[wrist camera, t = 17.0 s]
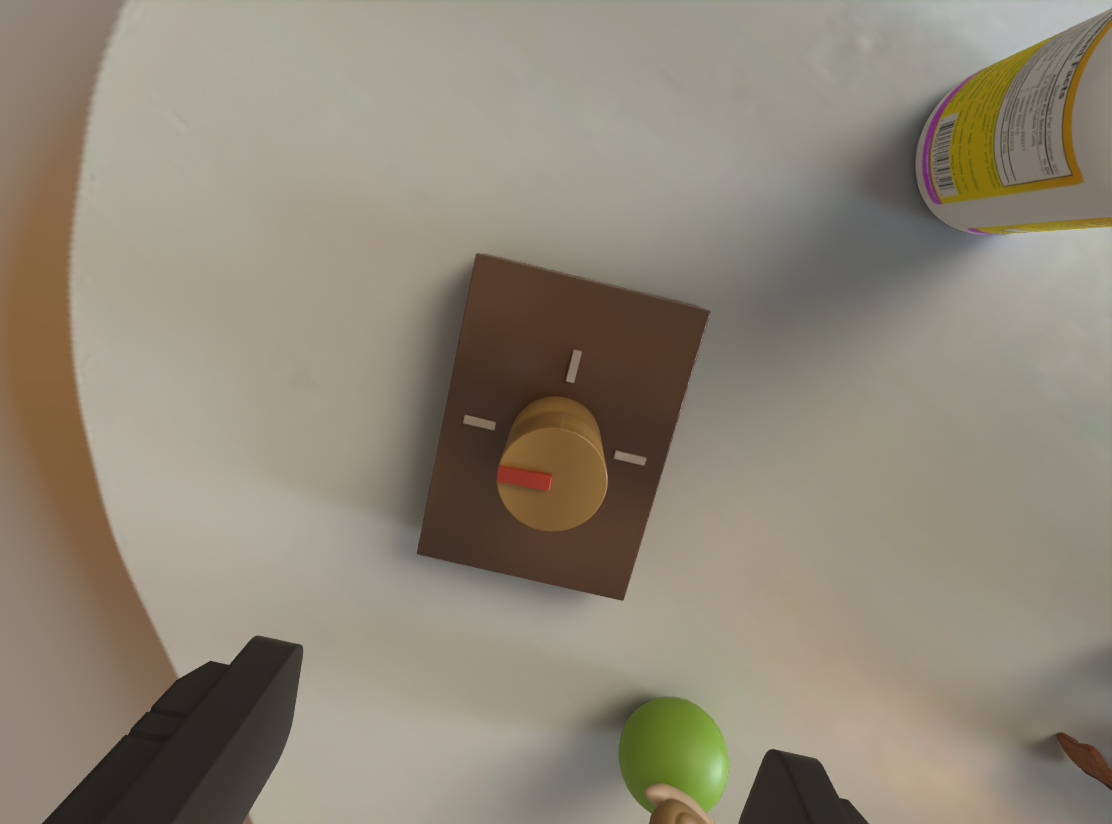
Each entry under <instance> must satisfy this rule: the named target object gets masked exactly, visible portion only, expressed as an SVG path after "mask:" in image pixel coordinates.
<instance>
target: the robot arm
mask: <svg viewBox="0 0 1112 824" xmlns="http://www.w3.org/2000/svg"><path fill="white" fill-rule="evenodd" d="M302 658H303V647H302V645H300V644H295V643H291V642H286V641H281V640H277V639H272V638H268V637H263V636H255V637H253V638H252V639H251V640H250V641H249V642H248V643H247V645H246V646H245V647H244V648H243V649H242V651H241V652H240V653H239V654H238V655H237V657H236V658H235V659H234V660H233V661H232V662H231V664H230V665H227V664H222V663H218V662H213V661H209V662H208V663H206V664H204V665H202V666H201V667H199V668H197V669H195V670H194V671H192V672H190V673H188V674H187V675H185V676H183V677H181V678H180V679H178V680H176V681H175V682H174V683H173V685H172V686H171V687H170V688H169V689H168V690H167V691H166V692H165V693H164V694H163V695H162V696H161V697H160V698H159V700H158V701H157V702H156V703H155V704H154V705H153V706H152V708H151V710H150V712H146V713H145V714H144V716H143V717H142V718H141V719H140V720H139V721H138V722H137V723H136V724H135V725H134V726H133V727H132V728H131V730H130V733H129V734H128V735H125V736H124V737H123V738H122V739H121V740H120V741H119V742H118V743H117V744H116V746H114V747H113V749H112V750H111V751H110V752H109V753H108V754H107V755H106V756H105V757H104V758H103V759H102V760H101V761H100V762H99V764H98V765H97V766H96V767H95V768H94V769H93V770H92V771H91V772H90V773H89V774H88V775H87V776H86V777H85V778H84V779H83V781H82V782H81V783H80V784H79V785H78V786H77V787H76V788H75V789H74V790H73V791H72V792H71V793H70V794H69V795H68V797H67V798H66V799H65V800H64V801H63V802H62V803H61V804H60V805H59V806H58V807H57V808H56V809H55V810H54V812H53V813H52V814H51V815H50V816H49V817H48V818H47V819H46V820H45V821H44V822H43V823H42V824H242V823H243V821H244V819H245V818H246V816H247V814H248V813H249V811H250V809H251V807H252V806H253V804H254V802H255V801H256V799H257V797H258V795H259V794H260V792H261V790H262V789H263V787H264V785H265V783H266V782H267V780H268V778H269V776H270V775H271V773H272V771H273V770H274V768H275V766H276V764H277V763H278V761H279V759H280V757H281V754H282V752H283V750H284V747H285V745H286V742H287V739H288V736H289V733H290V730H291V726H292V722H293V716H294V710H295V703H296V697H297V690H298V684H299V678H300V671H301V665H302ZM739 824H869V823H868V822H867V821H866V820H865V819H864V818H863V816H862V815H861V814H860V813H859V812H858V811H857V810H856V808H855V807H854V806H853V805H852V804H851V803H850V802H849V800H846V799H841V798H839V797H838V795H837V793H836V791H835V789H834V787H833V785H832V783H831V781H830V779H829V777H828V775H827V773H826V771H825V769H824V767H823V766H822V764H821V763H820V762H819V761H818V760H817V759H815V758H812V757H807V756H803V755H798V754H793V753H789V752H784V751H780V750H775V749H771V750H769V751H768V752H767V753H766V754H765V756H764V758H763V760H762V763H761V766H760V768H759V771H758V773H757V776H756V778H755V781H754V783H753V786H752V789H751V791H750V794H749V796H748V799H747V801H746V804H745V806H744V809H743V812H742V814H741V817H740V820H739Z"/></svg>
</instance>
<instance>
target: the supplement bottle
mask: <svg viewBox="0 0 1112 824" xmlns="http://www.w3.org/2000/svg"><path fill="white" fill-rule="evenodd" d="M915 168H916V178H917V183H918V187H919V190H920V193H921V195H922V197H923V199H924V201H925V203H926V204H927V206H928V207H929V209H930V210H931V211H932V212H933V213H934V214H935V216H937V217H938V218H939V219H940V220H941V221H943V222H944V223H946V224H947V225H949V226H951V227H953V228H955V229H958V230H960V231H963V232H967V233H972V234H983V235H987V234H1011V233H1026V232H1039V231H1055V230H1069V229H1085V228H1098V227H1112V9H1110V10H1108V11H1105V12H1103V13H1101V14H1099V15H1097V16H1095V17H1093V18H1090V19H1088V20H1086V21H1084V22H1082V23H1080V24H1078V25H1075V26H1073V27H1071V28H1069V29H1067V30H1065V31H1063V32H1061V33H1059V34H1057V35H1055V36H1053V37H1050V38H1048V39H1046V40H1044V41H1042V42H1040V43H1038V44H1035V45H1033V46H1031V47H1029V48H1027V49H1025V50H1023V51H1020V52H1018V53H1016V54H1014V55H1012V56H1010V57H1008V58H1006V59H1003V60H1001V61H999V62H997V63H995V64H993V65H991V66H989V67H987V68H985V69H983V70H981V71H979V72H977V73H975V74H973V75H971V76H969V77H968V78H966V79H965V80H963V81H962V82H960V83H959V84H958V85H956V86H955V87H954V88H953V89H952V90H950V91H949V92H948V93H947V94H946V95H945V96H944V97H943V99H942V100H941V101H940V102H939V103H938V105H937V106H936V108H935V109H934V110H933V112H932V113H931V115H930V117H929V118H928V120H927V122H926V124H925V126H924V128H923V131H922V133H921V136H920V139H919V143H918V146H917V152H916V162H915Z"/></svg>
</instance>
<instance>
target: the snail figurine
mask: <svg viewBox="0 0 1112 824" xmlns="http://www.w3.org/2000/svg"><path fill="white" fill-rule="evenodd" d="M619 763H620V769H621V773H622V776H623V779H624V781H625V783H626V786H627V788H628V789H629V791H630V793H631V794H632V796H633V797H634V798H635V799H636V801H637V802H638V803H639V804H640V805H641V806H642V807H643V808H645V809H646V810H647V811H649V812H650V813H652V814H651V817H650V822H649V824H715V823H714V822H713V821H712V820H711V818H710V817H709V816H708V815H707V814H706V812H708V811H709V810H710V809H711V808H712V807H713V806H714V805H715V804H716V803H717V801H718V800H719V798H720V797H721V795H722V793H723V791H724V789H725V786H726V782H727V778H728V771H729V759H728V752H727V747H726V744H725V741H724V738H723V736H722V733H721V731H720V730H719V728H718V726H717V725H716V723H715V722H714V721H713V719H712V718H711V717H710V716H709V715H708V714H707V713H706V712H705V711H704V710H703V709H701V708H700V707H699V706H697V705H696V704H694V703H692V702H690V701H687V700H685V699H681V698H677V697H660V698H656V699H653V700H650V701H648V702H646V703H644V704H643V705H641V706H640V707H639V708H638V709H636V710H635V711H634V712H633V714H632V715H631V716H630V718H629V719H628V721H627V722H626V724H625V726H624V729H623V731H622V734H621V738H620V743H619Z"/></svg>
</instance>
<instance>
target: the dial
mask: <svg viewBox="0 0 1112 824" xmlns="http://www.w3.org/2000/svg"><path fill="white" fill-rule="evenodd" d="M496 481H497V487H498V492H499V495H500V498H501V500H502V502H503V504H504V505H505V507H506V508H507V510H508V511H509V512H510V513H511V514H512V515H513V516H514V517H515V518H516V519H517V520H519V521H520V522H522V523H523V524H525V525H527V526H529V527H532V528H534V529H538V530H542V531H563V530H567V529H571V528H574V527H576V526H578V525H580V524H582V523H584V522H585V521H586V520H588V519H589V518H590V517H591V516H592V515H593V514H594V513H595V512H596V511H597V510H598V508H599V507H600V505H601V503H602V501H603V499H604V497H605V494H606V490H607V470H606V464H605V458H604V452H603V447H602V441H601V435H600V430H599V427H598V424H597V422H596V420H595V418H594V417H593V415H592V414H591V413H590V411H589V410H588V409H587V408H586V407H584V406H583V405H582V404H580V403H578V402H577V401H575V400H572V399H569V398H566V397H559V396H550V397H544V398H541V399H538V400H535V401H533V402H532V403H530V404H528V405H527V406H526V407H525V408H523V409H522V410H521V411H520V413H519V414H518V415H517V417H516V419H515V420H514V422H513V425H512V428H511V430H510V433H509V436H508V439H507V442H506V445H505V448H504V451H503V454H502V457H501V460H500V463H499V466H498V471H497V480H496Z"/></svg>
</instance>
